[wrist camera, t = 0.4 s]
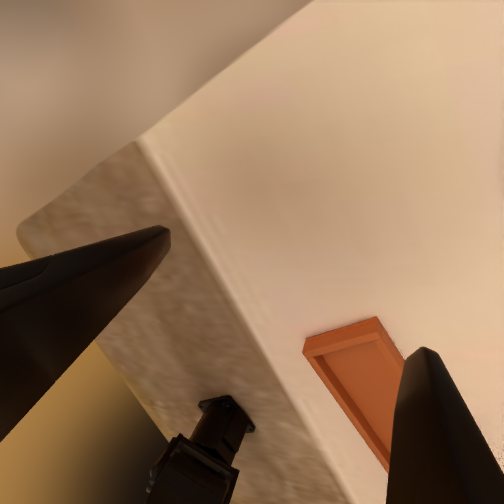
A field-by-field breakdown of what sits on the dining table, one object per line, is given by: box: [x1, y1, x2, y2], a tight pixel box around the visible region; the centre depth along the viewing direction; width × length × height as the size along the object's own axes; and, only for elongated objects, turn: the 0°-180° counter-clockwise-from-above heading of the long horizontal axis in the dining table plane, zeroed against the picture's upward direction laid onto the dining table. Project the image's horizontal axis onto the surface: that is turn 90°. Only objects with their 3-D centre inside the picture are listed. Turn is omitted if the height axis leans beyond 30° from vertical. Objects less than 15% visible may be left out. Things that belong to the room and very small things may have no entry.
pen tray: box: [302, 317, 405, 474], centre depth 28 cm, size 20×8×2 cm, turn 37°
